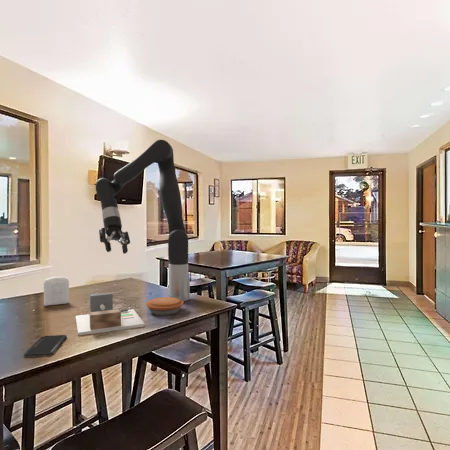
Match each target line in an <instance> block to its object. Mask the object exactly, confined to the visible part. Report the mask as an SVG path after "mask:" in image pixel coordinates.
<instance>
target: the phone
mask: <svg viewBox="0 0 450 450" xmlns="http://www.w3.org/2000/svg"><path fill="white" fill-rule="evenodd" d="M67 337H68V336H67V335H66V334H59V335H58V334H57V335H43V336H41V337H40V338H38V340H37V341H35V343H33V345H31V346H30V347H29V348H28V349H27V350H26V351H25V352H24V353H23V356H24V357H25V358H32V357H33V358H34V357H35V358H36V357H38V358H39V357H51V356H53V355H55V353H57V350H58V349H59V348H61V346H62V344H64V342H65V341H66V339H67Z"/></svg>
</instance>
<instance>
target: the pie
mask: <svg viewBox="0 0 450 450" xmlns="http://www.w3.org/2000/svg"><path fill="white" fill-rule="evenodd" d="M184 304H185V301H181V300H179V299H177V298H172V297H169V296H167V297H156V298H153V299H150V300H149V301H147V302H146V303H145V306H146V308H148V310H149V312H150V313H151V314H153V315H154V316H155V315H156V316H169V315H174V314H178V312H179V311H180V310H181V308H182V306H183V305H184Z"/></svg>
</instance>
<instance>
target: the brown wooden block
mask: <svg viewBox="0 0 450 450" xmlns="http://www.w3.org/2000/svg"><path fill="white" fill-rule="evenodd" d="M120 310H121V309H120V308H118V309H117V308H116V309H113V310H107V311H98V312H90V311H89V314H90V330H95V329H102V328H110V327H117V326H121V311H120Z"/></svg>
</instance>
